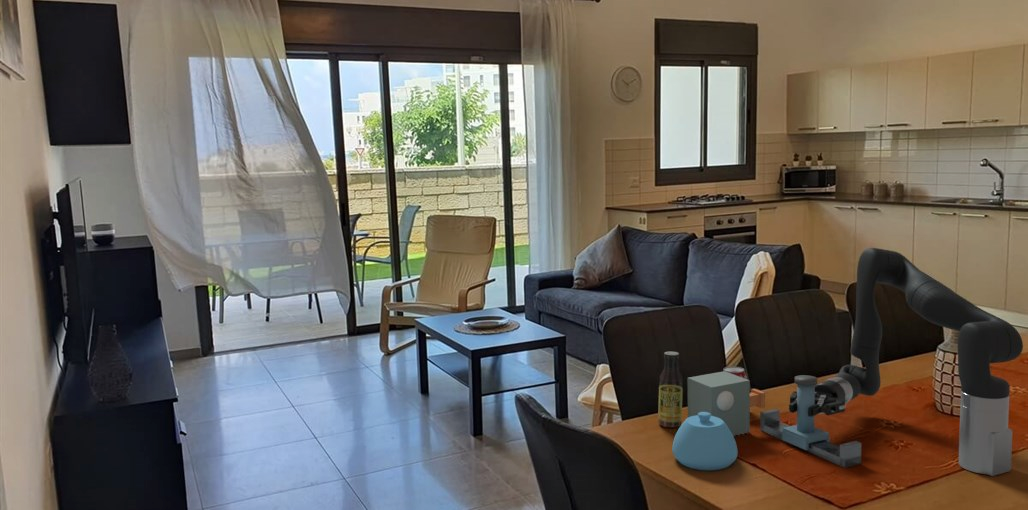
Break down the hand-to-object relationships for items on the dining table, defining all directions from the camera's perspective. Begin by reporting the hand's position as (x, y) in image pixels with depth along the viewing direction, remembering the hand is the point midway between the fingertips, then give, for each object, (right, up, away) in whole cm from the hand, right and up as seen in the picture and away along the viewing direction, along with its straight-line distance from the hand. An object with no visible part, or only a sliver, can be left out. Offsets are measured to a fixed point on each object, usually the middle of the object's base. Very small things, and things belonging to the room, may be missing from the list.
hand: (800, 410), depth 189 cm
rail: (+3, -9, +2) cm, 10 cm away
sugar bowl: (-24, -11, -4) cm, 27 cm away
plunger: (-9, -2, +14) cm, 17 cm away
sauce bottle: (-27, -8, +21) cm, 35 cm away
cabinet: (-16, -8, +15) cm, 23 cm away
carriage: (+2, -9, +3) cm, 10 cm away
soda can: (-8, -6, +31) cm, 32 cm away
